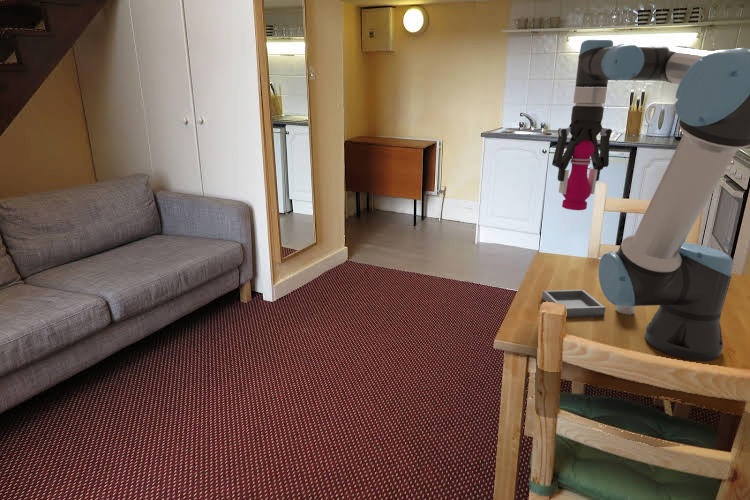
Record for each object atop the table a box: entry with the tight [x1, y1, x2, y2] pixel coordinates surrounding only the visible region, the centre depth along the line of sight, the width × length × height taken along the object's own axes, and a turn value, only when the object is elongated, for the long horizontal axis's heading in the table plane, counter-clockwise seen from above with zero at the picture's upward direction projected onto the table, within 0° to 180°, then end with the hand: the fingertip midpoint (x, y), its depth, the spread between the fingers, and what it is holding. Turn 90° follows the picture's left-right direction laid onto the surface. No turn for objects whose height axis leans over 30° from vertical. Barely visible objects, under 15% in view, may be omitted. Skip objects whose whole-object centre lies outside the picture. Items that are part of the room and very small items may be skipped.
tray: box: [541, 289, 606, 318], centre depth 132 cm, size 12×12×2 cm
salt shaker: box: [615, 305, 636, 315], centre depth 129 cm, size 4×4×10 cm
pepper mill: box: [561, 140, 595, 211], centre depth 133 cm, size 7×7×20 cm
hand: (576, 192), depth 135 cm, fingers closed on pepper mill, 7 cm apart
